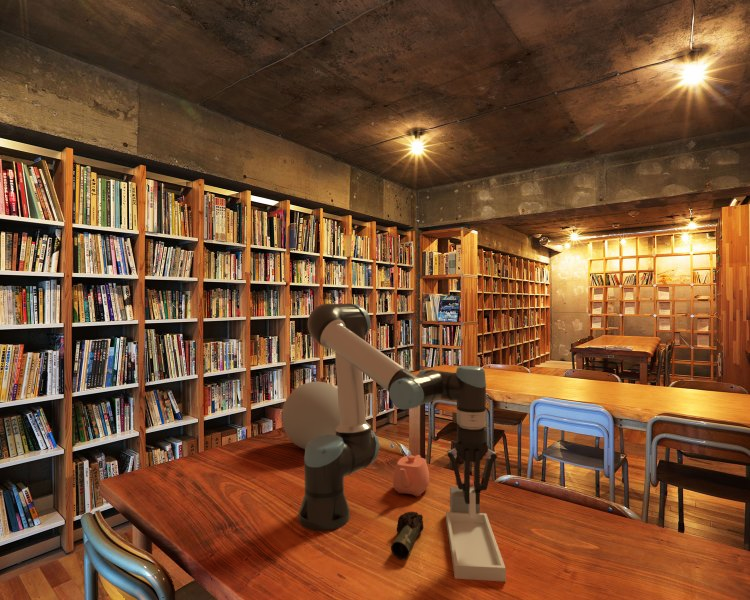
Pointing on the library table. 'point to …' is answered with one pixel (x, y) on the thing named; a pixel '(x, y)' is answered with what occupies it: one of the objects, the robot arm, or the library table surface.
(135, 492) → the library table surface
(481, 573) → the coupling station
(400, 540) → the metal pipe
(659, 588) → the library table surface
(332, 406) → the sphere
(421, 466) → the teapot
